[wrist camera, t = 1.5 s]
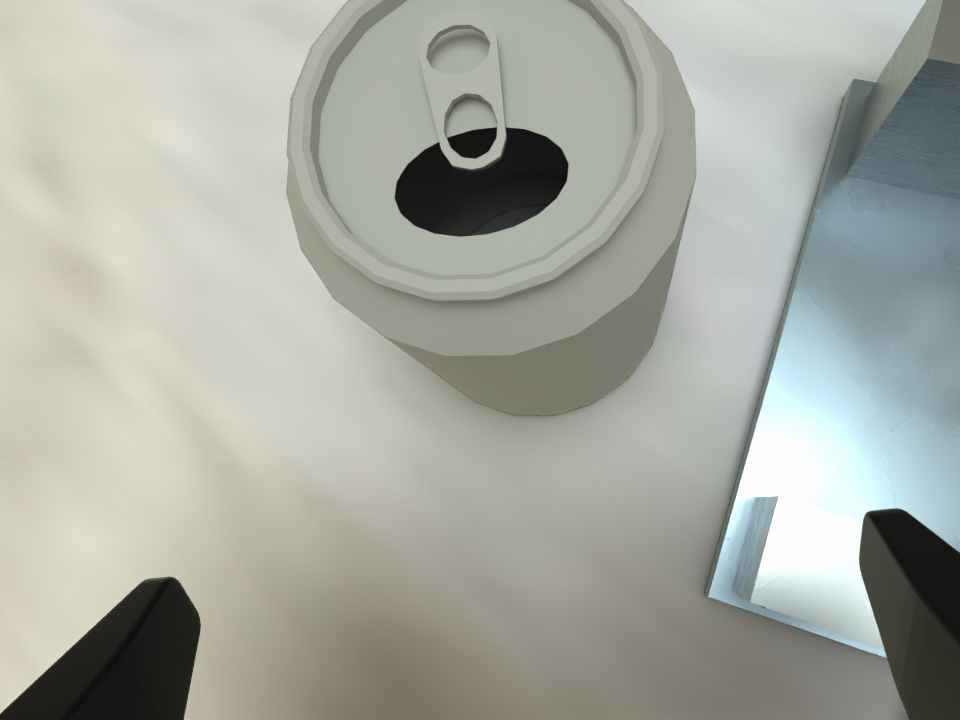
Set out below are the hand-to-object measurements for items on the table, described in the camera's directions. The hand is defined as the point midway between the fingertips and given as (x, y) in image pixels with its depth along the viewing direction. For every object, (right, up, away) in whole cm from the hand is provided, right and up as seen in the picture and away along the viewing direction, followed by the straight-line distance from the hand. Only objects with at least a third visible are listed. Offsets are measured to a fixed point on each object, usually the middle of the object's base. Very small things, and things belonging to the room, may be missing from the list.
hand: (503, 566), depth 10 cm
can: (+1, +5, +14) cm, 15 cm away
